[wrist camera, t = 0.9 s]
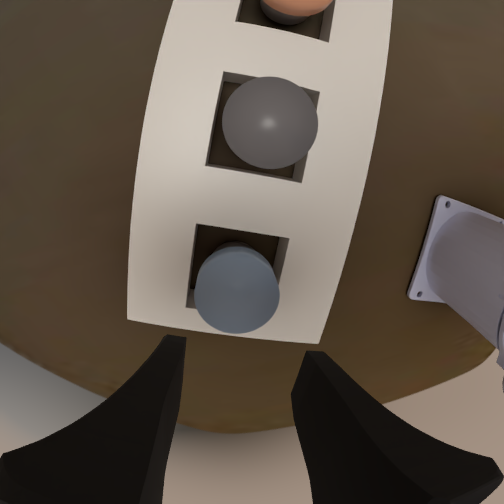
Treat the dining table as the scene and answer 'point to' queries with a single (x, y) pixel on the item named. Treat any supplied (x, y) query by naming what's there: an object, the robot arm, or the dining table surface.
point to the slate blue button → (236, 289)
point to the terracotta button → (292, 9)
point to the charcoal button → (270, 122)
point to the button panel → (246, 181)
